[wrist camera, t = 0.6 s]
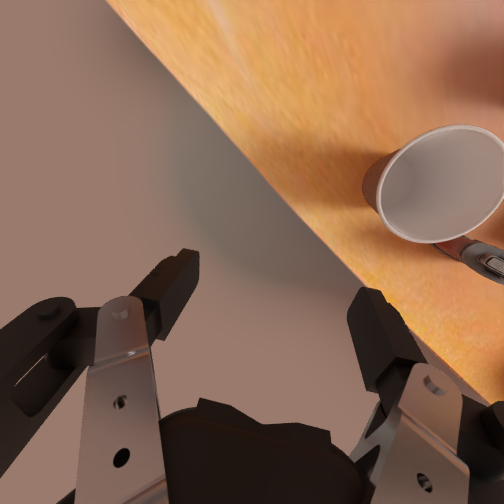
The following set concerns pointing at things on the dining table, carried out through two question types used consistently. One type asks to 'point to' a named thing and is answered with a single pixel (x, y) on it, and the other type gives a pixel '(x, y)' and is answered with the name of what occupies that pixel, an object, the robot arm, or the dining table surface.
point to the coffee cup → (438, 183)
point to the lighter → (475, 256)
